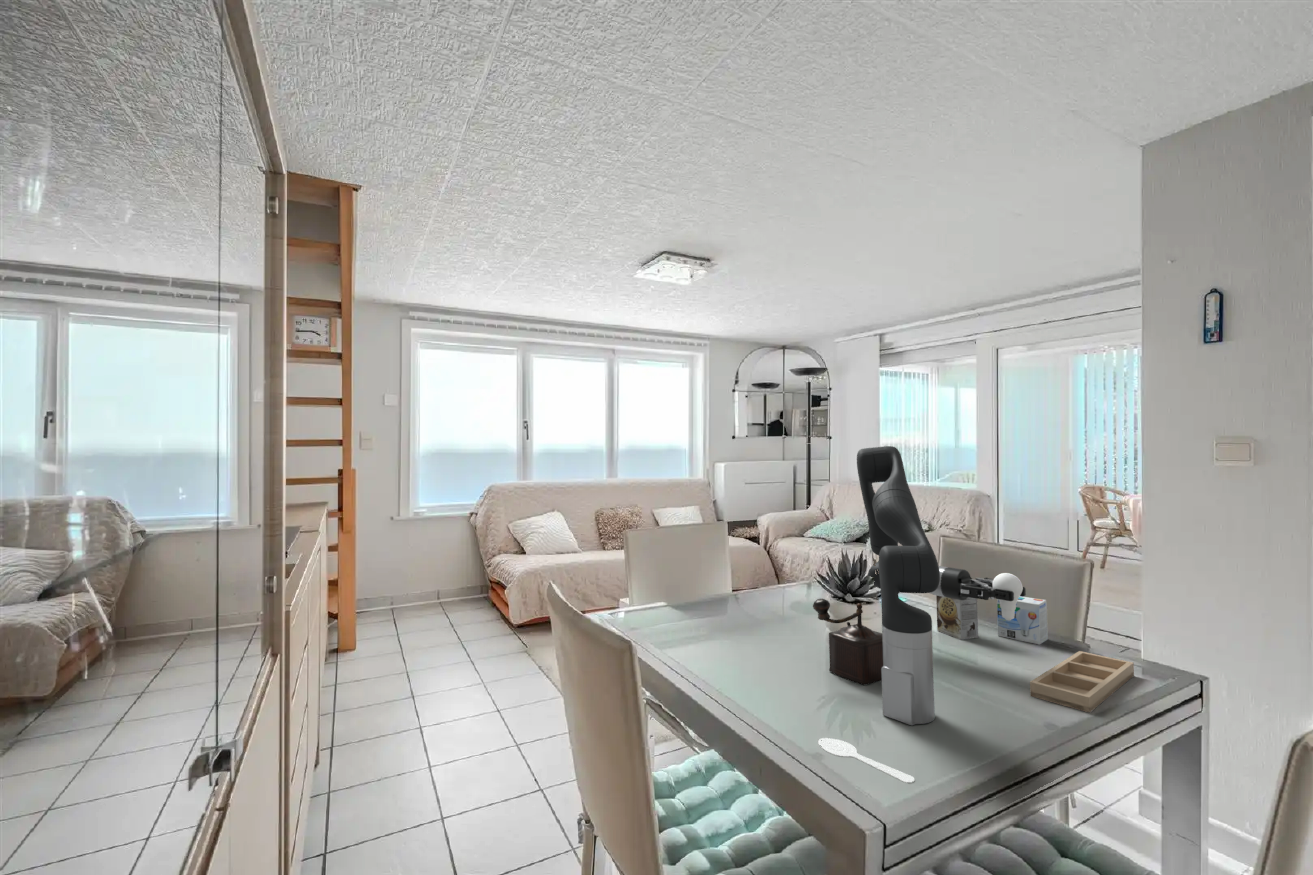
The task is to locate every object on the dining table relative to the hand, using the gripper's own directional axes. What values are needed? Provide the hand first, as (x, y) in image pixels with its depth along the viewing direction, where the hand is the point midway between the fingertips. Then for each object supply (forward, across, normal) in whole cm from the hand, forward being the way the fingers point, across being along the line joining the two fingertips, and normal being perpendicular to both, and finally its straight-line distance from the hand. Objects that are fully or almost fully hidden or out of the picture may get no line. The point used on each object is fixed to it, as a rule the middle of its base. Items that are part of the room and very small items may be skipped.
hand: (1018, 594), depth 137 cm
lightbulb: (-2, 0, +7) cm, 7 cm away
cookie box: (-24, +20, +19) cm, 36 cm away
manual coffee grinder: (-25, -29, +19) cm, 43 cm away
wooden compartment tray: (+11, +4, +18) cm, 22 cm away
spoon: (-2, -60, +19) cm, 63 cm away
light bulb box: (-11, +30, +19) cm, 37 cm away
